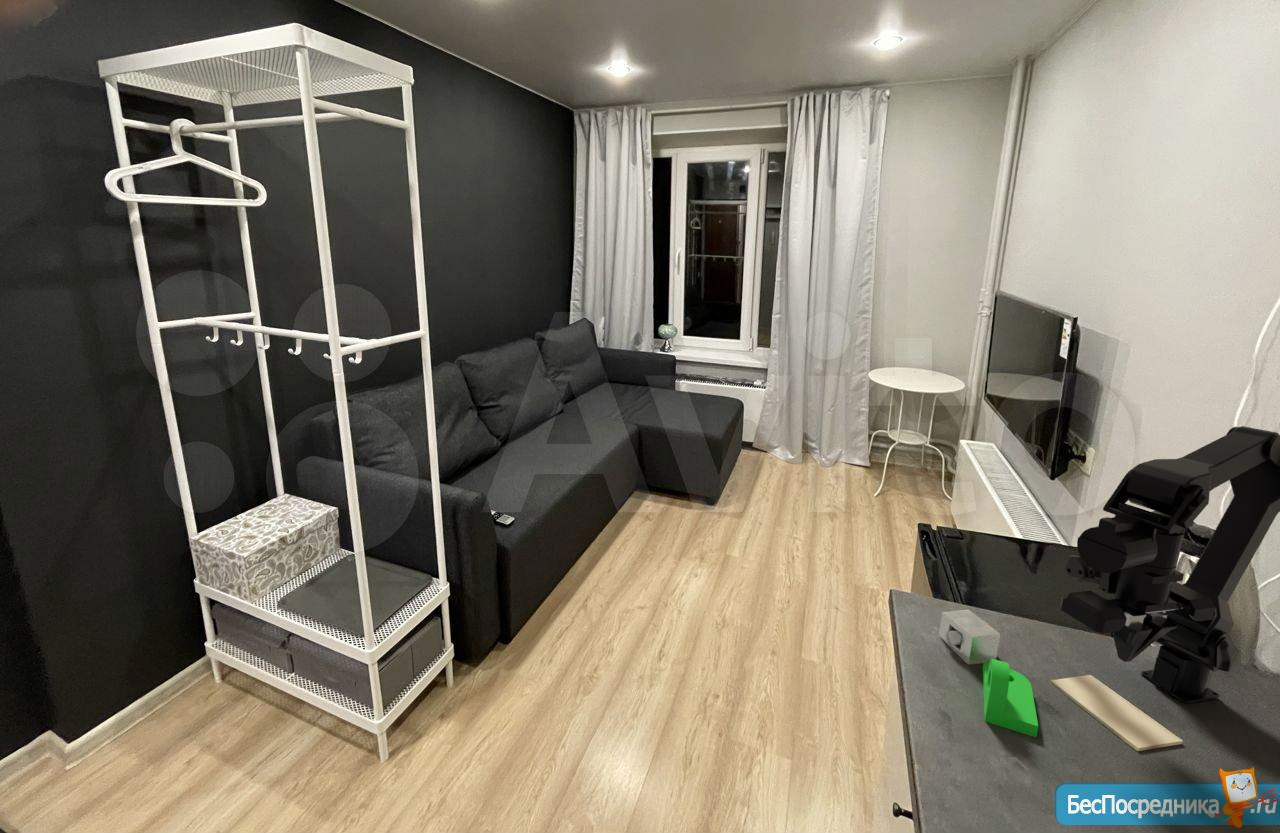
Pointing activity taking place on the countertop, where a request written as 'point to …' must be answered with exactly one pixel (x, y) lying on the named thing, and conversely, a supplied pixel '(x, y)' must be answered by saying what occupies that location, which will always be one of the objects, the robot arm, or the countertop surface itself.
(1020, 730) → the mechanical part
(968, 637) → the bearing block
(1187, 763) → the countertop surface
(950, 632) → the shaft
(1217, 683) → the countertop surface
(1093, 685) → the beige wooden board
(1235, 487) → the robot arm
